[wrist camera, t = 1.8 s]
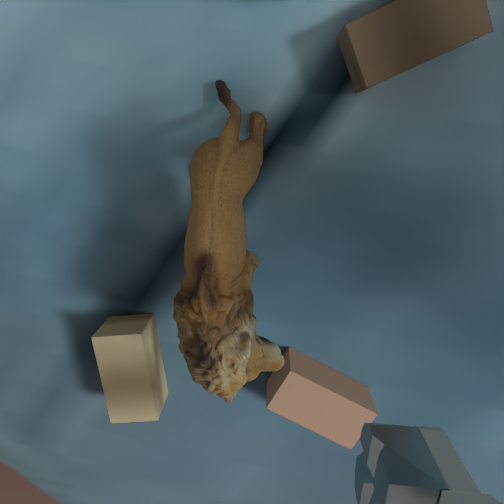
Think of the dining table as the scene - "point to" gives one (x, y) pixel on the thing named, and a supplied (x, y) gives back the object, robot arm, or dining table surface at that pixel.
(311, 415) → the terracotta brick
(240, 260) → the lion figurine
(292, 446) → the dining table surface
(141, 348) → the oak brick
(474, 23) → the walnut brick
